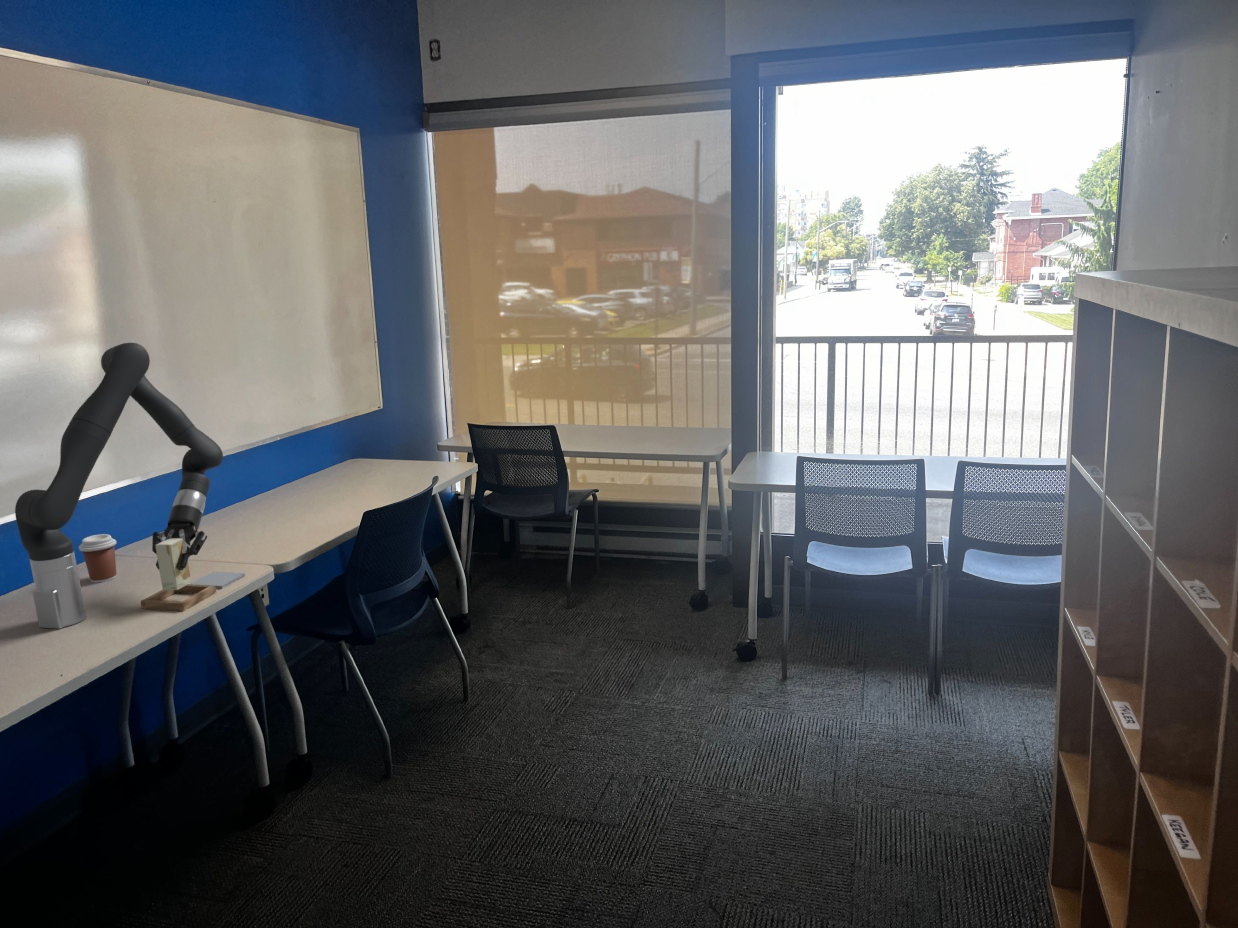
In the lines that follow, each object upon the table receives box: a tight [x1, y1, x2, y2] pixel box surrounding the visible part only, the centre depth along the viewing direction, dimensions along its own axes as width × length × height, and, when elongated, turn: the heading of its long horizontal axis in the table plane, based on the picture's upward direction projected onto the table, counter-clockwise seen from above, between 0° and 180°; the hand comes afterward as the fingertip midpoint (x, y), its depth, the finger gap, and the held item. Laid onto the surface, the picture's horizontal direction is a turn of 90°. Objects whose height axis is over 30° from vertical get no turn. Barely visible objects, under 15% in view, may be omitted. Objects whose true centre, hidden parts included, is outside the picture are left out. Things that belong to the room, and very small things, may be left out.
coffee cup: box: [78, 533, 118, 584], centre depth 246 cm, size 9×9×12 cm
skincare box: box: [155, 538, 192, 590], centre depth 227 cm, size 6×4×12 cm
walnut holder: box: [140, 583, 217, 612], centre depth 229 cm, size 12×12×2 cm
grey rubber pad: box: [190, 570, 246, 589], centre depth 242 cm, size 10×10×1 cm
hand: (170, 568), depth 225 cm, fingers closed on skincare box, 4 cm apart
